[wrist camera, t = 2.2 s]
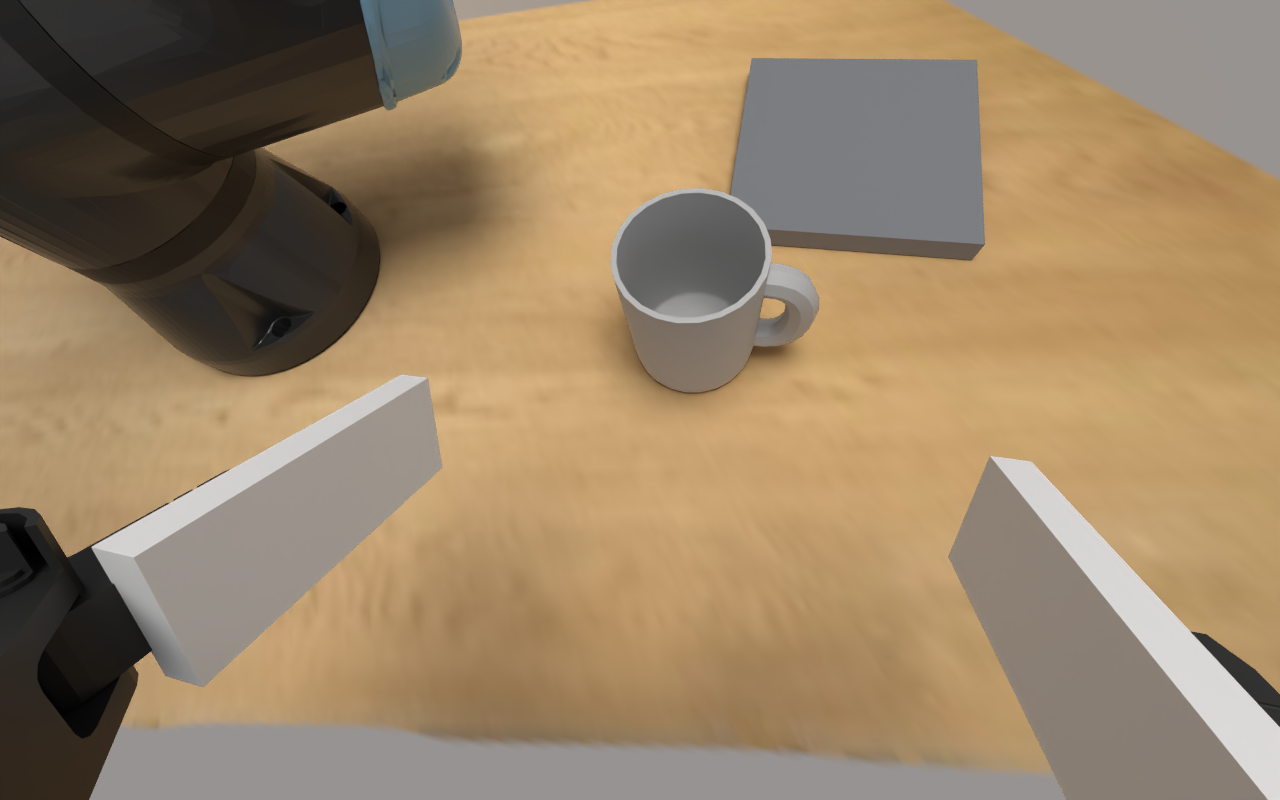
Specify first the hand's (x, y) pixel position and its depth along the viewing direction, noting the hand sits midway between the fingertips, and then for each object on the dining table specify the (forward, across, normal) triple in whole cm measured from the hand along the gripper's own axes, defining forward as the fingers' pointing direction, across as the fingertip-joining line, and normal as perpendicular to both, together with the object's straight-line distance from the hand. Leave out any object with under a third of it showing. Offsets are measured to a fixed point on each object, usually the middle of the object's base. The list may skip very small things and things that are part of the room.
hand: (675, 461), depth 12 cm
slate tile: (+29, +7, +8) cm, 31 cm away
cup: (+19, 0, -3) cm, 19 cm away
